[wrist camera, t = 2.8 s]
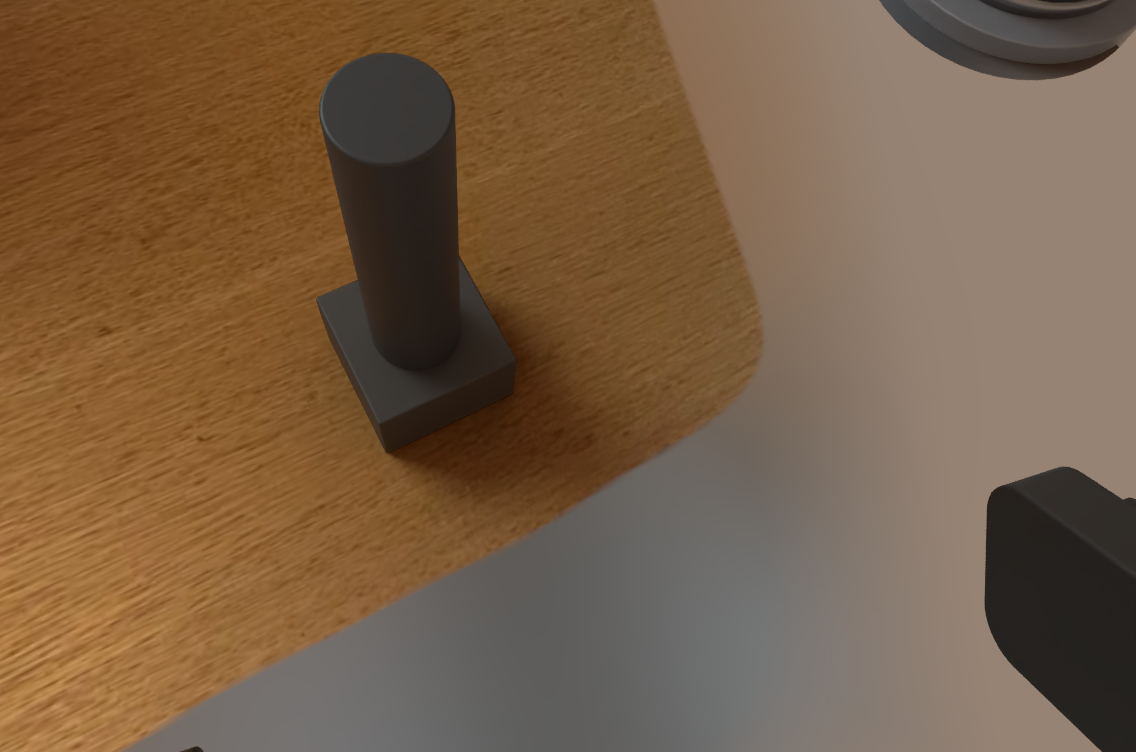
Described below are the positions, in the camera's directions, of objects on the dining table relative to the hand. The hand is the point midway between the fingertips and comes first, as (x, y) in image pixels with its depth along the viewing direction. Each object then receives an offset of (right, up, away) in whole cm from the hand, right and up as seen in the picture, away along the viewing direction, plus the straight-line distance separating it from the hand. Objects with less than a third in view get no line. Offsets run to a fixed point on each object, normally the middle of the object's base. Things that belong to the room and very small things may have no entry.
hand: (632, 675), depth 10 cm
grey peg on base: (-5, +3, +23) cm, 24 cm away
